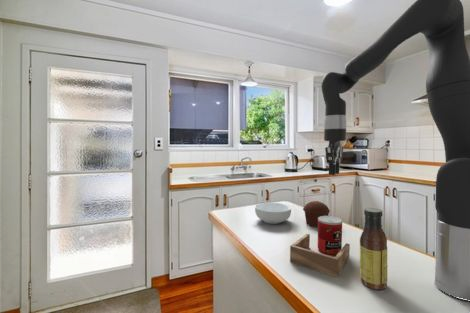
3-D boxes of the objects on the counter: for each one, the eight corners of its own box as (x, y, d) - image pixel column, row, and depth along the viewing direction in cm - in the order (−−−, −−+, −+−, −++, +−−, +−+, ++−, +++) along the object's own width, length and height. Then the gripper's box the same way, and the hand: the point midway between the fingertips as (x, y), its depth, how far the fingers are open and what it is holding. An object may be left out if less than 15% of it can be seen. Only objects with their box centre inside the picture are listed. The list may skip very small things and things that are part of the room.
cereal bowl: (294, 227, 105) (294, 211, 104) (256, 227, 105) (256, 211, 105) (287, 215, 122) (287, 202, 121) (254, 215, 122) (254, 202, 121)
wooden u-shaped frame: (306, 247, 85) (306, 233, 85) (349, 259, 76) (349, 244, 76) (290, 261, 75) (290, 245, 75) (336, 277, 66) (337, 259, 66)
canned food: (327, 257, 78) (327, 223, 77) (312, 247, 85) (313, 216, 85) (346, 254, 80) (347, 221, 79) (331, 244, 87) (331, 214, 87)
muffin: (318, 218, 117) (318, 198, 116) (335, 226, 107) (335, 203, 106) (297, 221, 113) (297, 200, 112) (313, 229, 102) (313, 206, 102)
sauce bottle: (377, 277, 66) (379, 206, 65) (392, 291, 60) (395, 212, 59) (353, 277, 66) (355, 206, 65) (367, 291, 60) (369, 213, 59)
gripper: (340, 126, 81) (339, 177, 82) (350, 128, 92) (349, 173, 93) (318, 127, 86) (317, 175, 87) (330, 129, 97) (329, 171, 98)
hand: (334, 173), depth 90 cm, fingers open, 4 cm apart
